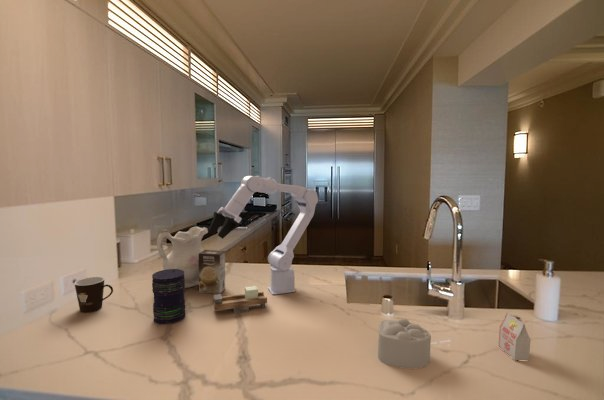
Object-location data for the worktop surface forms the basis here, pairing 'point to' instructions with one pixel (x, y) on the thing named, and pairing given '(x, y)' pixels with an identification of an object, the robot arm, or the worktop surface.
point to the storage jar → (168, 296)
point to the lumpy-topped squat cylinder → (403, 344)
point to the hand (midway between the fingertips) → (215, 234)
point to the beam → (238, 302)
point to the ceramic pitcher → (183, 253)
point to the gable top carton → (514, 338)
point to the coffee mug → (90, 293)
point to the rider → (251, 292)
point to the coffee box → (211, 271)
